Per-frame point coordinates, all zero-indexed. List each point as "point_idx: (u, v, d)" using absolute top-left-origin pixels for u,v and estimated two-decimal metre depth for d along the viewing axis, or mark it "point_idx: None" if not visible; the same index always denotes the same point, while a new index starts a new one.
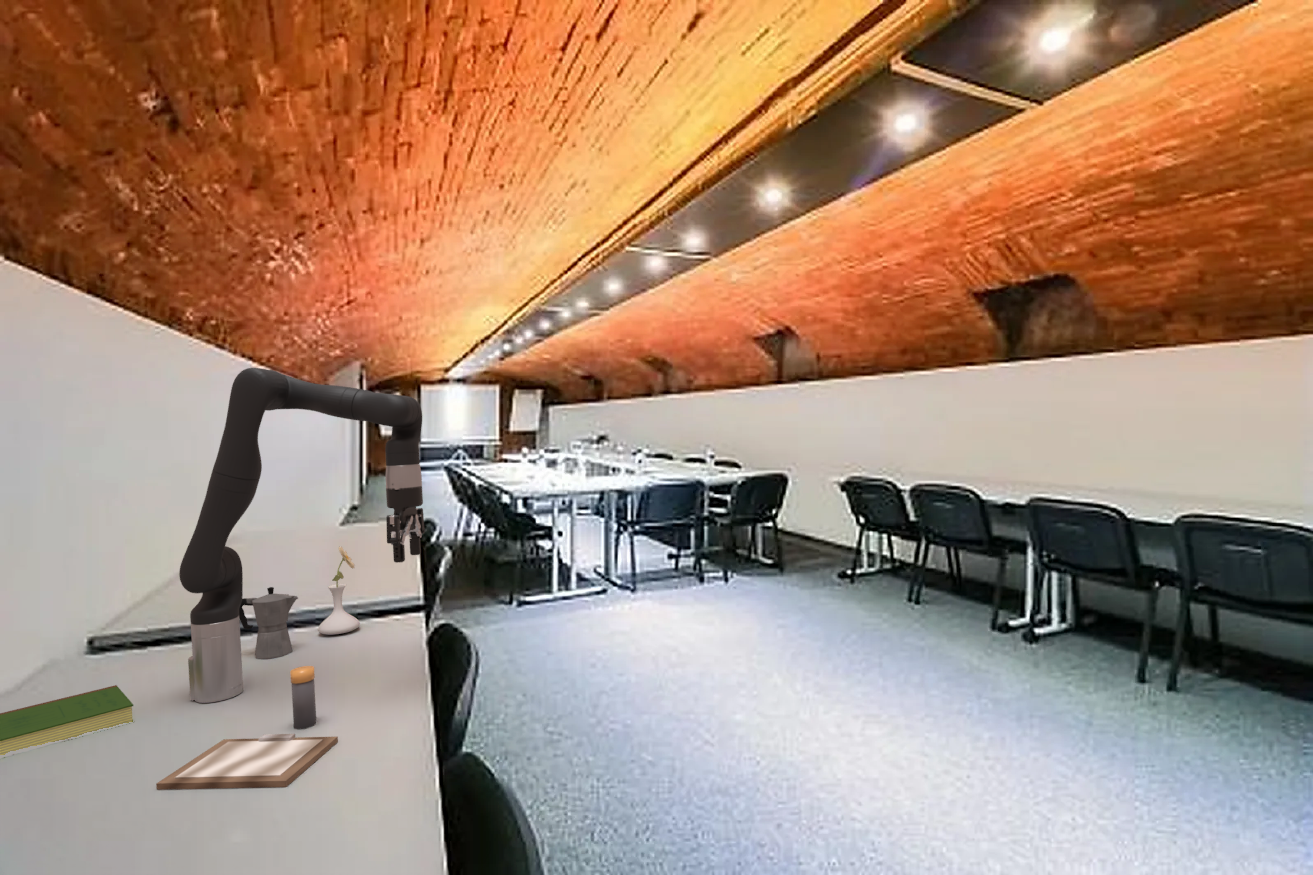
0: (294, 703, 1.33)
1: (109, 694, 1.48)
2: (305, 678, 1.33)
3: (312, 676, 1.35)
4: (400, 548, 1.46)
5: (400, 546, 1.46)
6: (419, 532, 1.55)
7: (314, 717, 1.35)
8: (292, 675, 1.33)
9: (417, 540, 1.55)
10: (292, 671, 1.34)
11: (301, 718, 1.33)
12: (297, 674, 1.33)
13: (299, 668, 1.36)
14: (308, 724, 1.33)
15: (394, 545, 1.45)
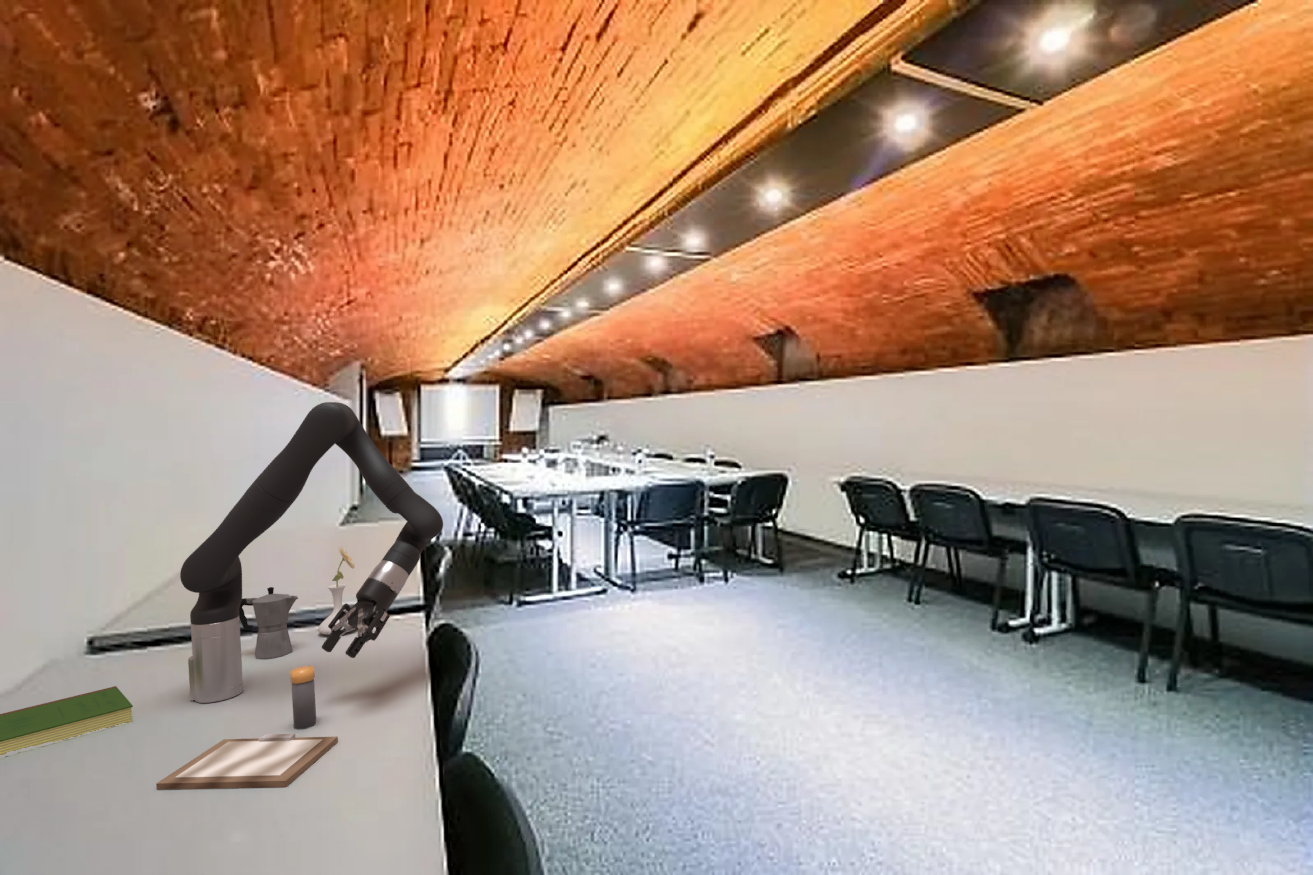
0: (294, 703, 1.33)
1: (109, 695, 1.47)
2: (305, 678, 1.33)
3: (312, 676, 1.35)
4: None
5: None
6: None
7: (314, 717, 1.35)
8: (292, 675, 1.33)
9: (338, 637, 1.46)
10: (292, 671, 1.34)
11: (301, 718, 1.33)
12: (297, 674, 1.33)
13: (299, 668, 1.36)
14: (308, 724, 1.33)
15: (362, 639, 1.40)
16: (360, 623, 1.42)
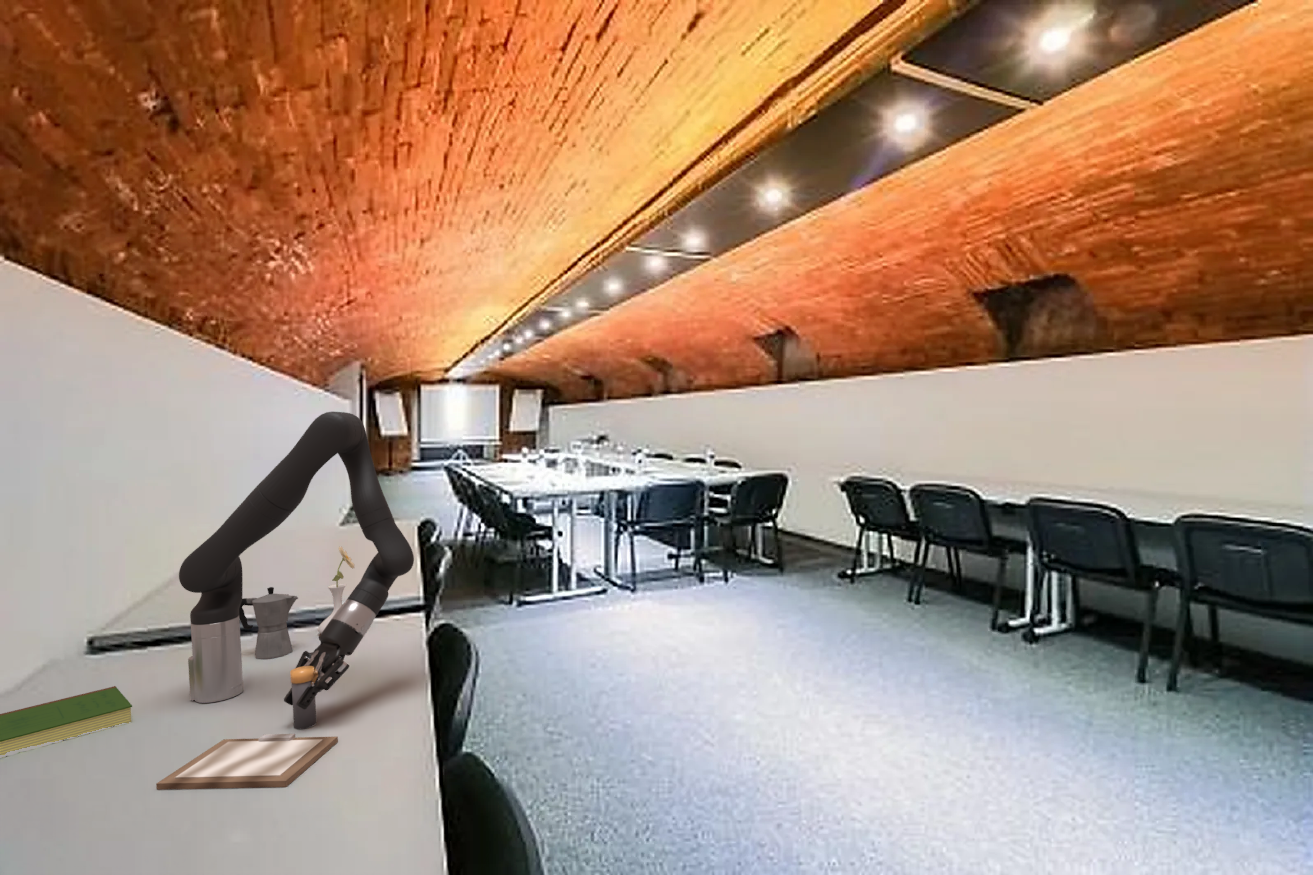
0: (294, 703, 1.33)
1: (108, 695, 1.47)
2: (305, 678, 1.33)
3: (312, 676, 1.35)
4: None
5: None
6: None
7: (314, 717, 1.35)
8: (292, 675, 1.33)
9: None
10: (292, 671, 1.34)
11: (302, 718, 1.33)
12: (297, 674, 1.33)
13: (299, 668, 1.36)
14: (309, 724, 1.33)
15: (315, 689, 1.33)
16: (316, 671, 1.35)
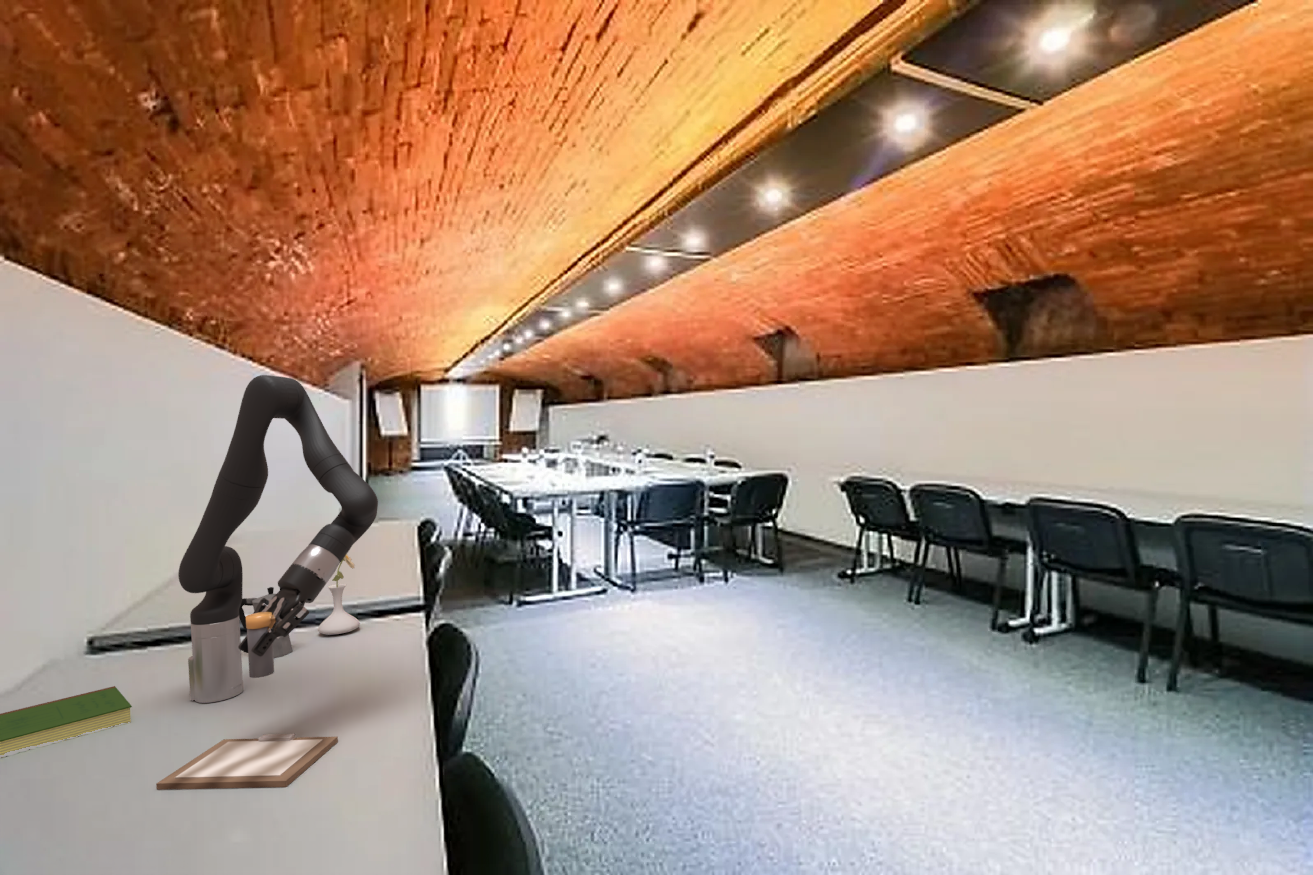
0: (250, 650, 1.25)
1: (107, 695, 1.47)
2: (262, 623, 1.25)
3: (269, 622, 1.26)
4: None
5: None
6: None
7: (271, 665, 1.26)
8: (247, 620, 1.24)
9: None
10: (248, 616, 1.25)
11: (258, 666, 1.25)
12: (253, 619, 1.24)
13: (256, 614, 1.27)
14: (265, 672, 1.25)
15: (272, 635, 1.25)
16: (274, 616, 1.26)
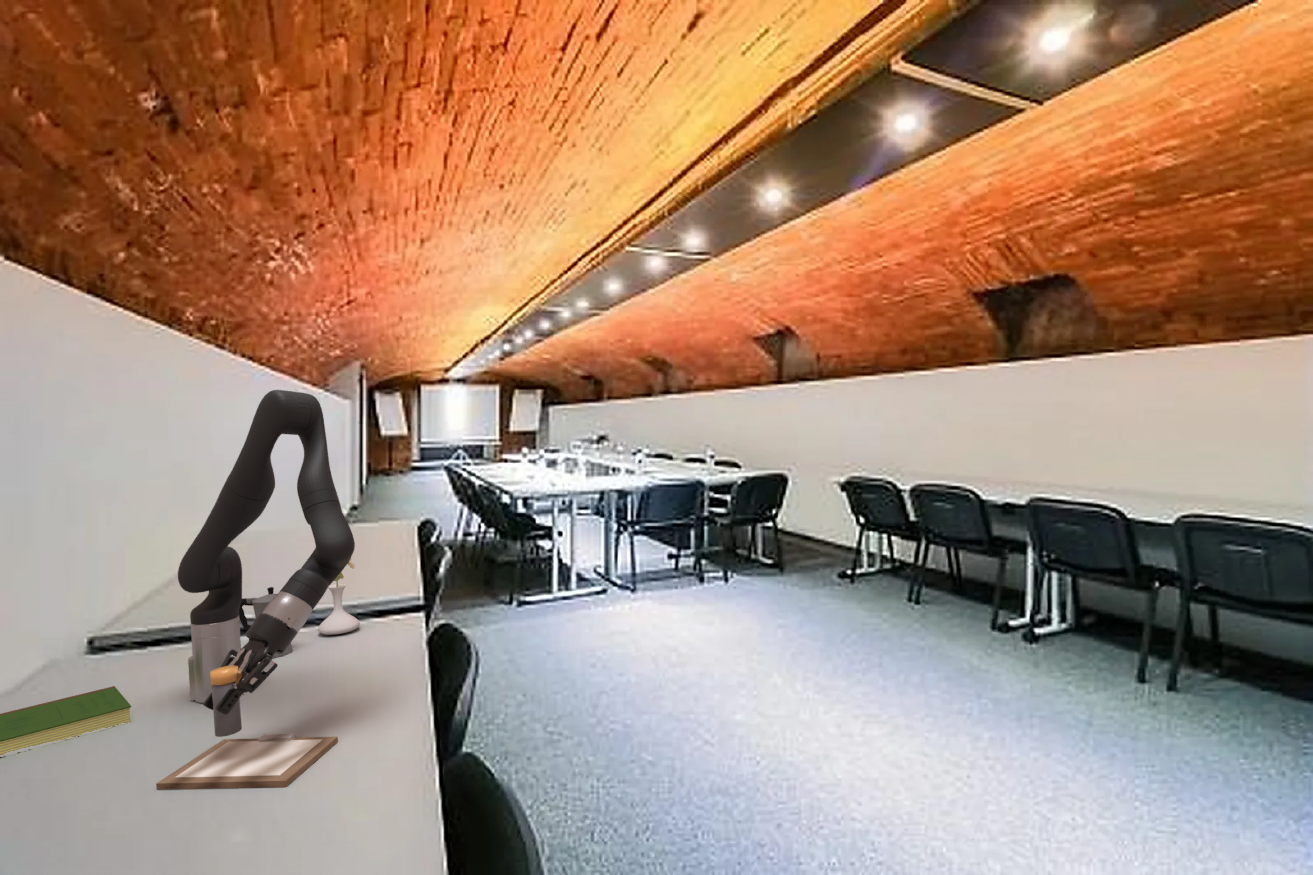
0: (214, 707, 1.18)
1: (107, 695, 1.47)
2: (227, 679, 1.18)
3: (235, 677, 1.20)
4: None
5: None
6: None
7: (238, 723, 1.20)
8: (212, 676, 1.18)
9: None
10: (212, 671, 1.19)
11: (223, 724, 1.18)
12: (217, 675, 1.18)
13: (222, 668, 1.21)
14: (231, 731, 1.19)
15: (237, 691, 1.18)
16: (240, 671, 1.20)
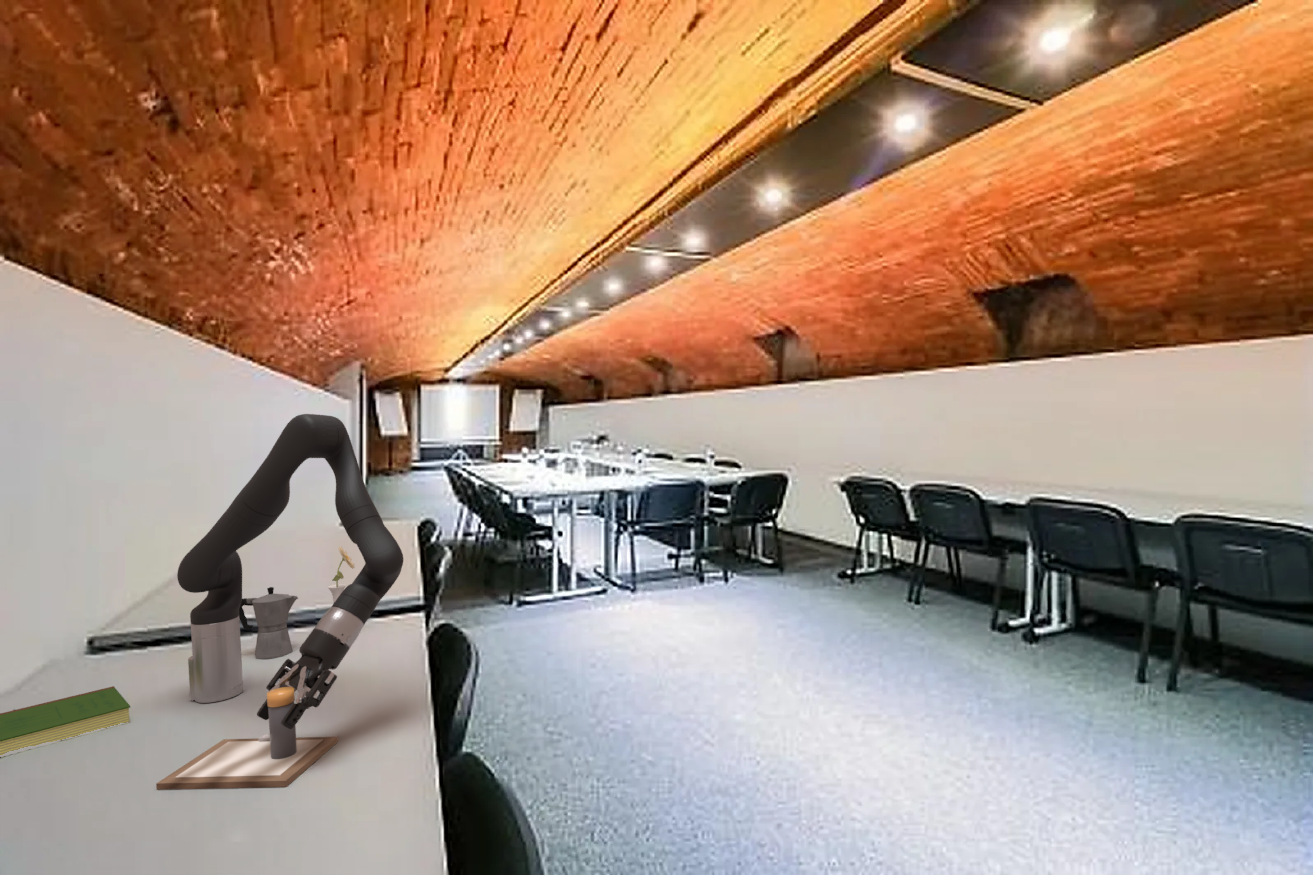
0: (271, 729, 1.18)
1: (106, 695, 1.47)
2: (284, 701, 1.18)
3: (292, 699, 1.19)
4: None
5: None
6: None
7: (294, 745, 1.20)
8: (269, 698, 1.18)
9: None
10: (269, 693, 1.19)
11: (279, 746, 1.18)
12: (274, 697, 1.18)
13: (278, 689, 1.20)
14: (287, 753, 1.18)
15: (302, 705, 1.17)
16: (301, 686, 1.19)
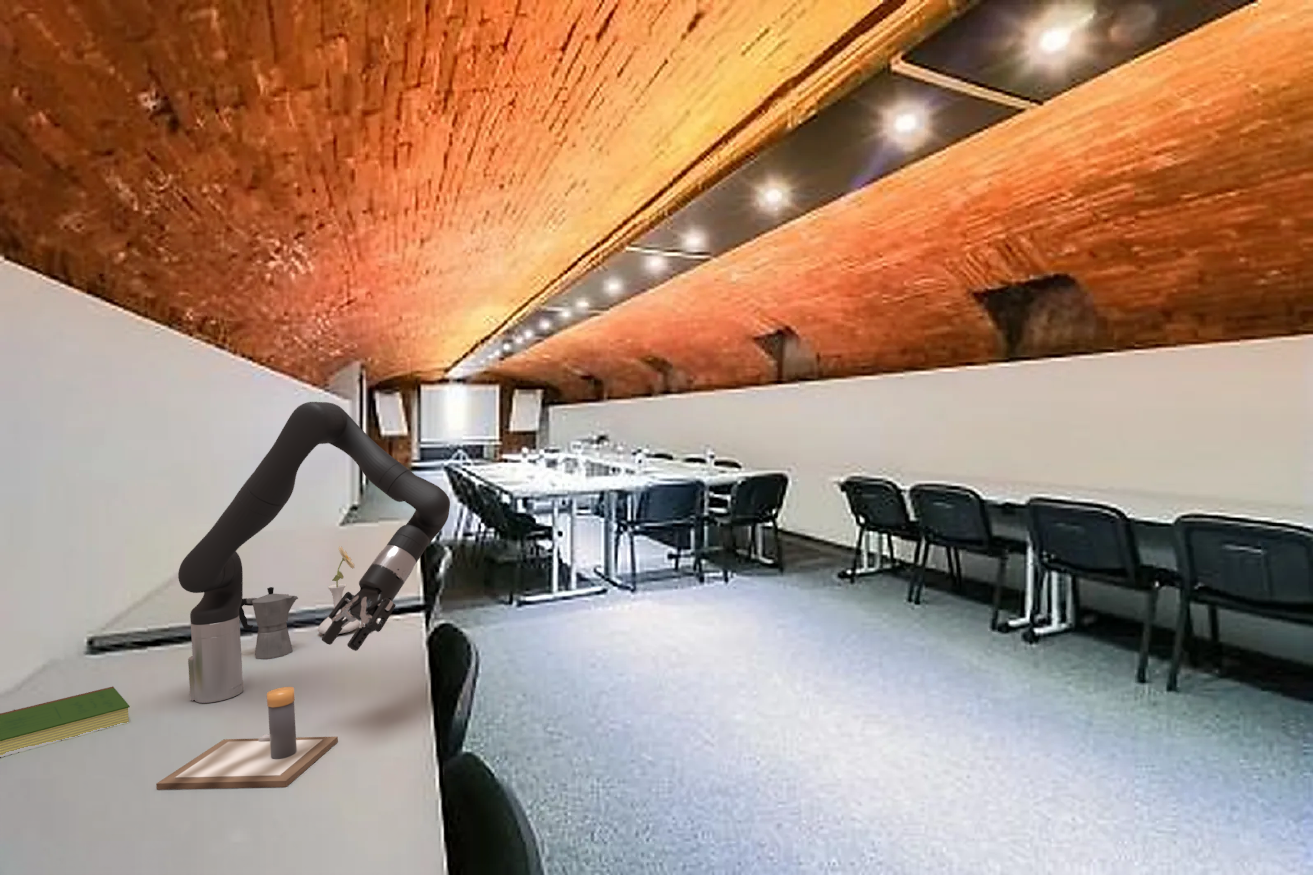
0: (271, 729, 1.18)
1: (106, 695, 1.47)
2: (283, 701, 1.18)
3: (291, 699, 1.19)
4: None
5: None
6: None
7: (294, 745, 1.20)
8: (269, 698, 1.18)
9: (339, 629, 1.33)
10: (269, 693, 1.19)
11: (279, 746, 1.18)
12: (274, 697, 1.18)
13: (278, 689, 1.20)
14: (287, 753, 1.18)
15: (366, 629, 1.28)
16: (363, 613, 1.30)
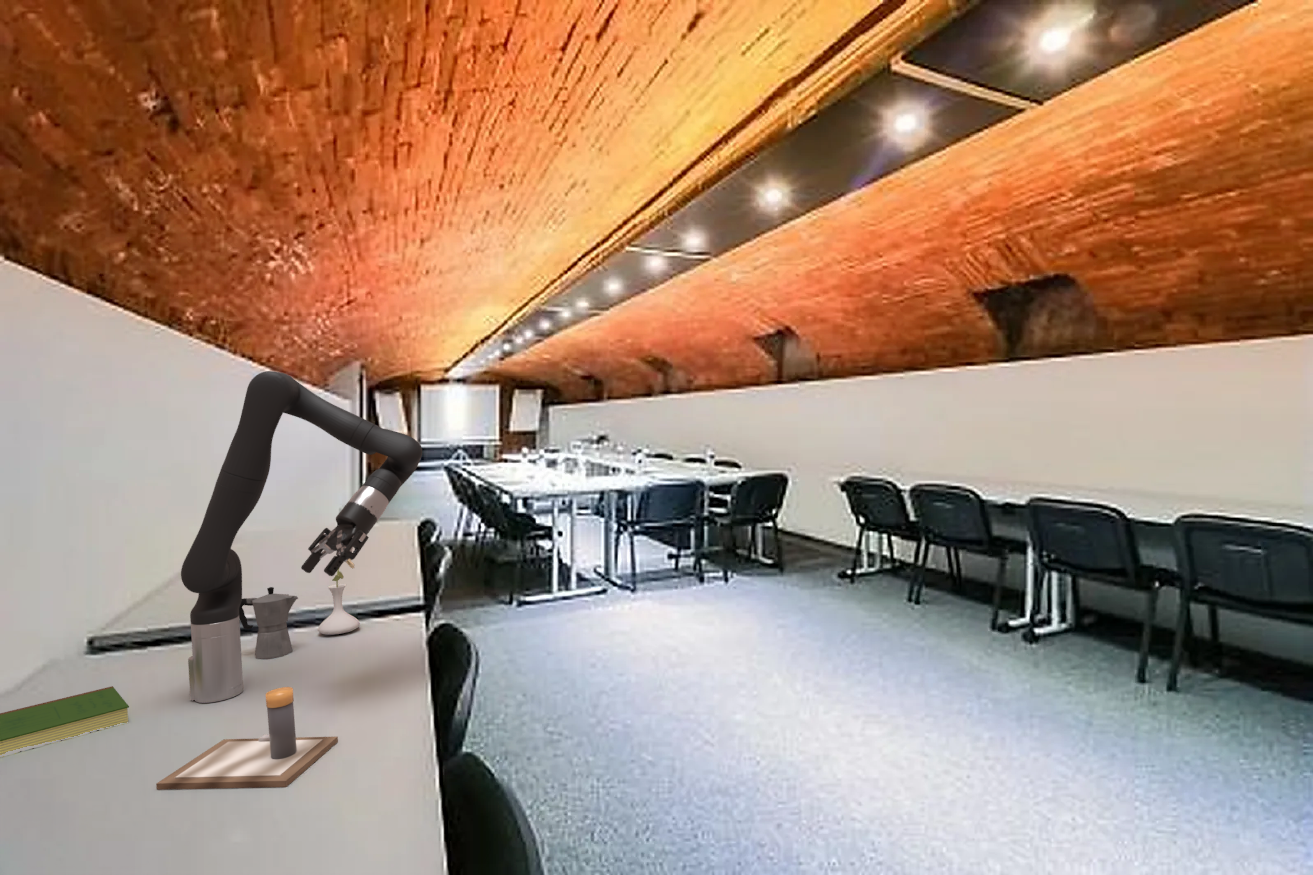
0: (270, 730, 1.18)
1: (105, 695, 1.47)
2: (282, 702, 1.18)
3: (290, 699, 1.19)
4: None
5: None
6: None
7: (293, 745, 1.19)
8: (267, 698, 1.18)
9: (318, 559, 1.47)
10: (268, 694, 1.19)
11: (279, 746, 1.18)
12: (273, 697, 1.17)
13: (277, 690, 1.20)
14: (287, 753, 1.18)
15: (341, 557, 1.42)
16: (339, 543, 1.43)
